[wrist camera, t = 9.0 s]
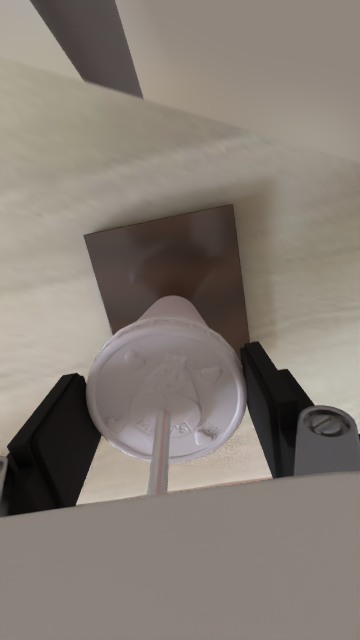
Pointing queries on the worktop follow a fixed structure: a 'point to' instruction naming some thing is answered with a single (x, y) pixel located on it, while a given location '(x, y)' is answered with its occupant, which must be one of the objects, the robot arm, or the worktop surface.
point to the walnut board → (174, 270)
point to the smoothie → (166, 389)
